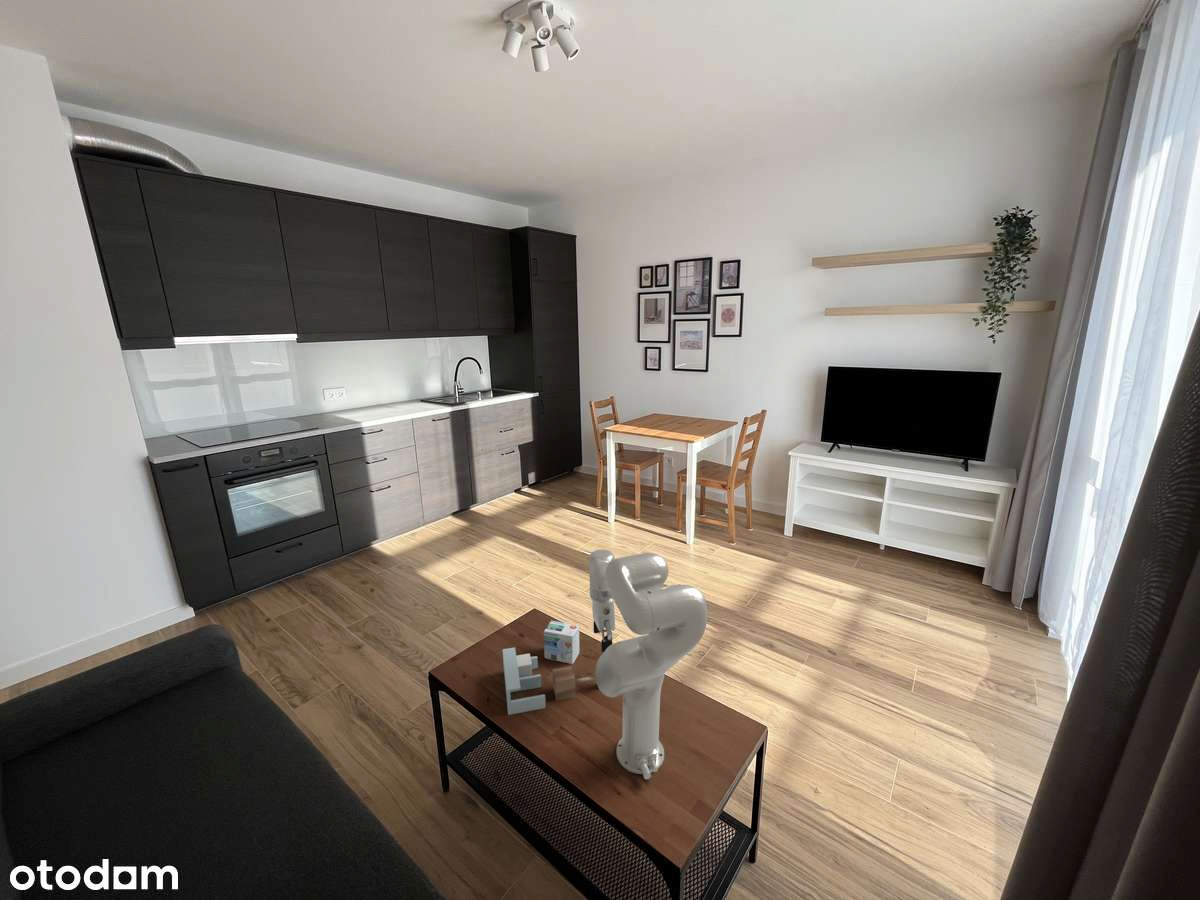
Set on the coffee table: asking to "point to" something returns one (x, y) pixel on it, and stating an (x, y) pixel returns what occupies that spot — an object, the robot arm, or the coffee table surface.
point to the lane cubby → (520, 684)
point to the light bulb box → (561, 642)
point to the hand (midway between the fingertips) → (602, 641)
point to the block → (524, 665)
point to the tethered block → (566, 683)
